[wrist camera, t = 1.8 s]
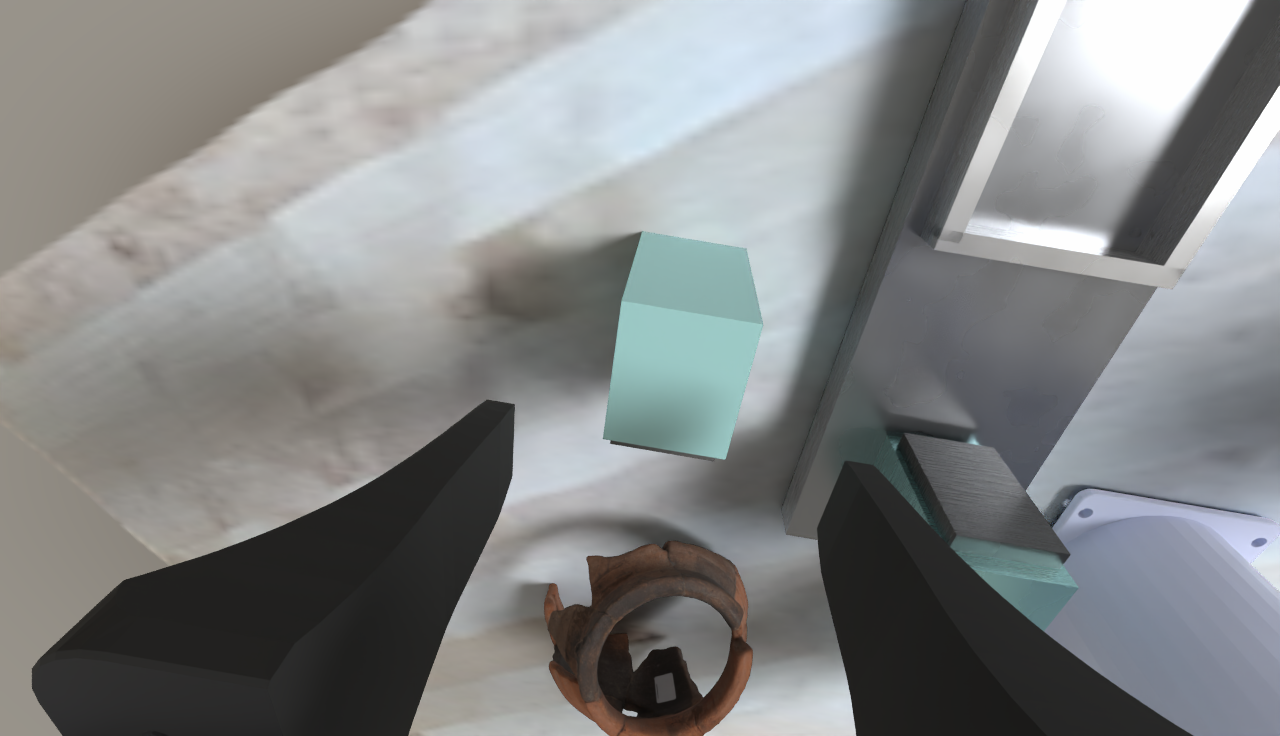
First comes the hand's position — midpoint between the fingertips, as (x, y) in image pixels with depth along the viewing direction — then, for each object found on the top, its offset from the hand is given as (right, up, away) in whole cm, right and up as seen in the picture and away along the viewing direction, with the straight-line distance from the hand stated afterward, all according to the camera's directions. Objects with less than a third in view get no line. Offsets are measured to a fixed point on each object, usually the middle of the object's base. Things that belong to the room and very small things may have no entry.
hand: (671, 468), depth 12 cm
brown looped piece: (0, -9, +17) cm, 19 cm away
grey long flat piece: (+11, +5, +7) cm, 14 cm away
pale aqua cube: (+1, +5, +8) cm, 9 cm away
